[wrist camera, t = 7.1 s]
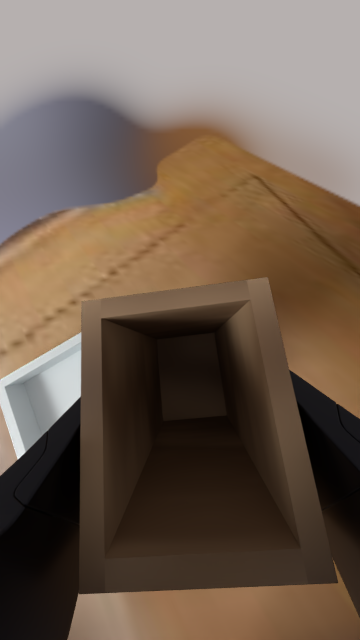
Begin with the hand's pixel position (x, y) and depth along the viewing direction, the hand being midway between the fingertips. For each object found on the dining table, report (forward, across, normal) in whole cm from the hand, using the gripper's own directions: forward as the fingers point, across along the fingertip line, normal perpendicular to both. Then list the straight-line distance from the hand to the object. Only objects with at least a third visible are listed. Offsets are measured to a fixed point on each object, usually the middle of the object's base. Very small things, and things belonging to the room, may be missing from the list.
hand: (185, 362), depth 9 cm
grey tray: (+6, +14, +12) cm, 19 cm away
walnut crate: (+4, 0, +6) cm, 7 cm away
